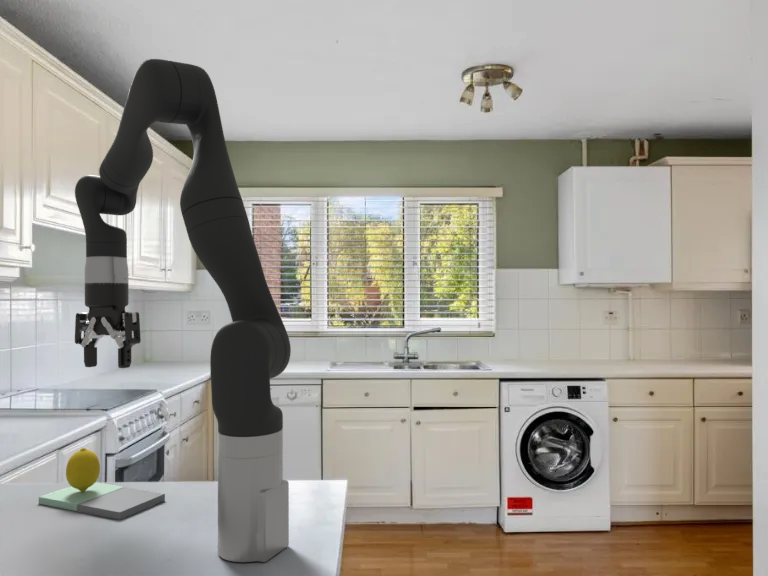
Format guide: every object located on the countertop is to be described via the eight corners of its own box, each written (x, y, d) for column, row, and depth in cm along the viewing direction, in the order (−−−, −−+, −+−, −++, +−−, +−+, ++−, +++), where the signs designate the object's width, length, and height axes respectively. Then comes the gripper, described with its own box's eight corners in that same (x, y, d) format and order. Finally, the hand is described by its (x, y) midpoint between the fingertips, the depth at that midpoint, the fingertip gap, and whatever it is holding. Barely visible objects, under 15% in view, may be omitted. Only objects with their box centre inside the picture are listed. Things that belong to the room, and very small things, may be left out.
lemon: (85, 497, 102) (85, 452, 103) (58, 496, 104) (58, 451, 104) (106, 488, 108) (106, 445, 108) (80, 486, 109) (81, 443, 109)
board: (164, 500, 104) (164, 493, 105) (119, 519, 95) (119, 512, 95) (87, 487, 112) (87, 480, 112) (38, 503, 103) (38, 496, 103)
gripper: (150, 281, 110) (151, 366, 110) (96, 283, 116) (96, 364, 115) (118, 279, 103) (119, 370, 103) (62, 282, 109) (62, 368, 108)
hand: (107, 367), depth 109 cm, fingers open, 8 cm apart
